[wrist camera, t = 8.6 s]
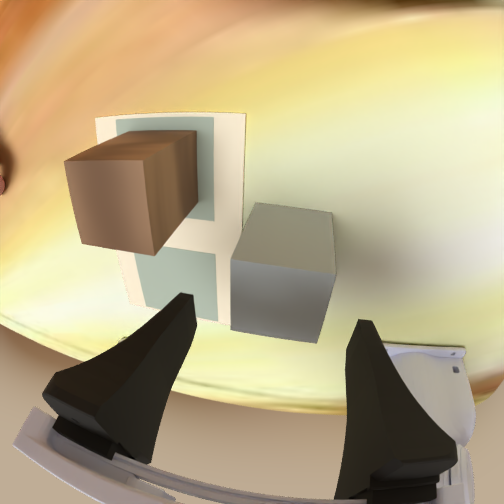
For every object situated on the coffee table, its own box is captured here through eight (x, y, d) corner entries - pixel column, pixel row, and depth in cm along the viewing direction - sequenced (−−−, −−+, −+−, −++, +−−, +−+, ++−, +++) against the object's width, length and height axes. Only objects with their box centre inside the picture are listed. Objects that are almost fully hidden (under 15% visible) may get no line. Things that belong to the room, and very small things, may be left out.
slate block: (331, 212, 17) (336, 274, 12) (319, 273, 20) (316, 343, 15) (255, 202, 18) (230, 259, 13) (252, 264, 20) (230, 329, 15)
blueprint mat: (245, 113, 15) (245, 113, 15) (239, 326, 24) (239, 327, 24) (96, 117, 16) (94, 118, 16) (130, 303, 25) (129, 304, 25)
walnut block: (196, 130, 16) (142, 160, 11) (198, 202, 18) (154, 256, 13) (129, 130, 16) (64, 161, 11) (136, 196, 19) (81, 243, 14)
